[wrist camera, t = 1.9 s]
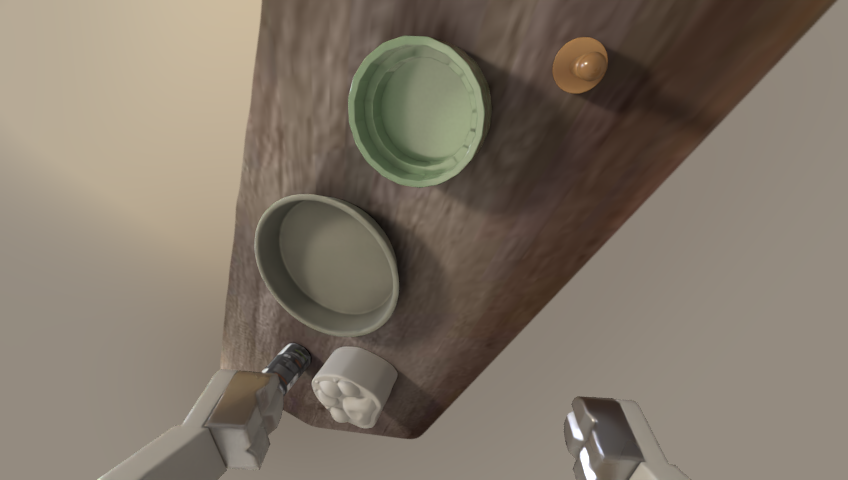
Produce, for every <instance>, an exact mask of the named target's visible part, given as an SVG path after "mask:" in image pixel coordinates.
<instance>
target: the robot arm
mask: <svg viewBox="0 0 848 480" xmlns="http://www.w3.org/2000/svg"><path fill="white" fill-rule="evenodd" d="M279 383H280V380H279V377H278V374H272V373H262V372H251V371H241V370H230V369H220V370H219V371H218V372H217V373H216V374H215V375H214V376H213V377H212V379H211V381H210V382H209V384H208V385H207V387H206V389H205V390H204V392H203V393H202V394H201V396H200V397H199V399H198V400H197V402H196V403H195V405H194V407H193V408H192V410H191V411H190V413H189V414H188V416H187V417H186V419H185V420H184V422H183V424H182V425H175V426H174V427H172V428H171V429H169V430H168V431H166V432H165V433H164V434H162V435H161V436H159V437H158V438H157V439H155V440H154V441H152V442H151V443H149V444H148V445H146V446H145V447H143V448H142V449H141V450H139V451H138V452H136V453H135V454H133V455H132V456H131V457H129V458H128V459H126V460H125V461H123V462H122V463H120V464H119V465H118V466H116V467H115V468H113V469H112V470H110V471H109V472H108V473H107V474H105V475H103V476H102V477H100V478H99V479H98V480H218V479H219V478H220V477H221V476H222V475H223V474H224V472H226V471H227V469H226V468H232V469H252V470H260V467H261V465H262V462H263V460H264V458H265V455H266V453H267V451H268V448H269V445H270V442H269V438H268V435H269V434H270V433H271V432H272V431H274V430H275V429H276V428H277V426H278V424H279V421H280V419H281V415H282V411H283V406H284V397H283V393H282V391H280V390H279V389H278V388H277V387H278V385H279ZM572 407H573V410H574V411H572V412H570V413H569V414H567V417H566V419H565V422H564V435H565V442H566V445H567V449H568V451H569V452H570V454H571V455H572V456H573V457H574V458H575V459H576V462H575V464H574V467H573V470H574V474H575V477H576V480H691V479H690V478H689V477H688V476H687V475H686V474H684V473H683V472H682V471H681V470H680V469H679V468H678V467H677V466H676V465H671V464H669V463H668V461H667V459H666V458H665V456H664V454H663V452H662V450H661V448H660V446H659V444H658V442H657V440H656V438H655V436H654V434H653V432H652V430H651V428H650V426H649V424H648V422H647V420H646V418H645V416H644V414H643V412H642V410H641V408H640V407H639V405H638V404H637V403H636V402H635V401H632V400H617V399H612V398H596V397H576V398H574V400H573V402H572Z"/></svg>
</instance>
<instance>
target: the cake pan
mask: <svg viewBox="0 0 848 480" xmlns="http://www.w3.org/2000/svg"><path fill="white" fill-rule="evenodd" d="M254 246H255V256H256V261H257V265H258V268H259V271H260V273H261V276H262V278H263V280H264V282H265V284H266V286H267V287H268V289H269V290H270V292H271V293H272V295H273V296H274V298H275V299H276V300H277V301H278V302H279V304H280V305H281V306H282V307H283V308H284V309H285V310H286V311H288V312H289V313H290V314H291V315H292V316H293V317H295V318H296V319H297V320H299V321H300V322H302V323H304V324H305V325H307V326H309V327H311V328H313V329H315V330H317V331H320V332H322V333H325V334H329V335H333V336H339V337H357V336H362V335H366V334H369V333H371V332H373V331H375V330H377V329H378V328H380V327H381V326H383V325H384V324H385V323H386V322H387V321H388V319H389V318H390V317H391V315H392V313H393V311H394V309H395V307H396V304H397V300H398V295H399V278H398V272H397V261H396V256H395V253H394V250H393V247H392V245H391V243H390V241H389V239H388V237H387V236H386V234H385V232H384V231H383V230H382V228H381V227H380V226H379V225H378V223H377V222H376V221H375V220H374V219H373V218H372V217H370V216H369V215H368V214H367V213H366V212H364V211H363V210H361V209H360V208H358V207H357V206H355V205H353V204H351V203H349V202H346V201H344V200H341V199H337V198H333V197H324V196H319V195H313V194H297V195H292V196H288V197H285V198H282V199H281V200H279V201H277V202H275V203H274V204H272V205H271V206H270V207H269V208H268V209H267V210H266V211H265V213H264V214H263V216H262V217H261V219H260V221H259V223H258V226H257V229H256V233H255V243H254Z"/></svg>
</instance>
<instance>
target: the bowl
mask: <svg viewBox="0 0 848 480" xmlns="http://www.w3.org/2000/svg"><path fill="white" fill-rule="evenodd" d="M348 108H349V124H350V127H351V130H352V134H353V137H354V140H355V143H356V145H357V147H358V148H359V150H360V151H361V153H362V155H363V156H364V158H365V159H366V161H367V162H368V163H369V164H370V165H371V166H372V167H373V168H374V169H375V170H377V171H378V172H379V173H380V174H381V175H382V176H384V177H386V178H388V179H390V180H392V181H394V182H396V183H398V184H401V185H406V186H412V187H419V188H421V187H427V186H433V185H439V184H441V183H443V182H445V181H447V180H449V179H450V178H452V177H454V176H456V175H457V174H459V173H460V172H461V170H462V169H463V168H464V167H465V166H466V165H467V164H468V163H469V162H470V161H471V160H472V159H473V157H474V156H475V155H476V154H477V153H478V152H479V150H480V149H481V147H482V145H483V143H484V141H485V138H486V136H487V134H488V132H489V129H490V122H491V114H492V103H491V97H490V91H489V86H488V83H487V81H486V79H485V77H484V75H483V73H482V72H481V70H480V68H479V66H478V65H477V63H476V62H475V61H474V60H473V59H472V58H471V57H470V56H469V55H468V54H467V53H465V52H464V51H463V50H462V49H461V48H459V47H457V46H454V45H452V44H450V43H448V42H445V41H443V40H440V39H436V38H431V37H426V36H401V37H399V38H396V39H393V40H390V41H387V42H384V43H382V44H381V45H380V46H379V47H377V48H376V49H375V50H374V51H373V52H372V53H370V54H369V55H368V56H367V57H366V58H365V59H364V61H363V62H362V64H361V66H360V67H359V69H358V71H357V72H356V74H355V76H354V78H353V81H352V85H351V90H350V94H349V98H348Z"/></svg>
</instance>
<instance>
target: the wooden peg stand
mask: <svg viewBox="0 0 848 480" xmlns="http://www.w3.org/2000/svg"><path fill="white" fill-rule="evenodd" d="M607 65H608V56H607V52H606V50H605V48H604V46H603V45H602V44H601V43H600V42H599V41H597V40H596V39H593V38H590V37H580V38H576V39H573V40H571V41H570V42H568V43H567V44H565V45H564V46H563V47H562V48H561V49H560V50H559V52H558V53H557V55H556V57H555V60H554V63H553V77H554V80H555V82H556V84H557V85H558V86H559V87H560V88H561V89H562V90H564V91H566V92H568V93H573V94H578V93H583V92H586V91H588V90H590V89H592V88H593V87H595V86H596V85H597V84H598V83H599V82H600V81H601V79H602V78H603V76H604V75H605V72H606V69H607Z"/></svg>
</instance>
